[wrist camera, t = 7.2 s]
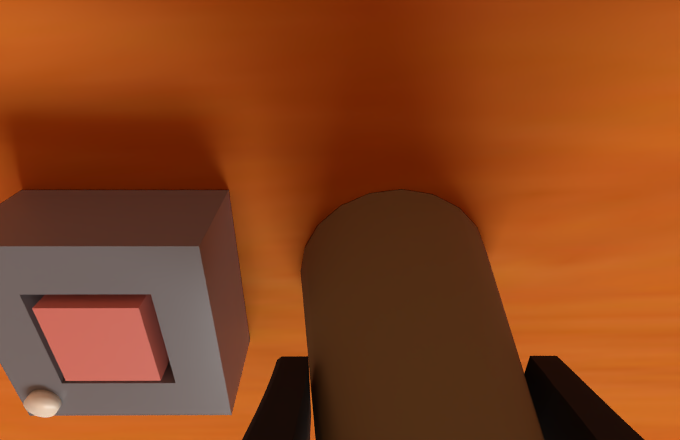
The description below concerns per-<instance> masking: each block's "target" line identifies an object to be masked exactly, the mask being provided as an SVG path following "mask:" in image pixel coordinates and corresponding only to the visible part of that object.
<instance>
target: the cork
mask: <svg viewBox="0 0 680 440" xmlns="http://www.w3.org/2000/svg"><path fill="white" fill-rule="evenodd" d="M301 280H302V291H303V302H304V313H305V325H306V336H307V347H308V358H309V370H310V381H311V392H312V403H313V415H314V426H315V437H316V440H545V439H544V436H543V433H542V430H541V426H540V423H539V420H538V417H537V414H536V410H535V407H534V404H533V401H532V397H531V394H530V391H529V388H528V385H527V381H526V378H525V375H524V372H523V369H522V365H521V362H520V359H519V356H518V352H517V349H516V346H515V343H514V340H513V336H512V333H511V330H510V327H509V323H508V320H507V317H506V314H505V311H504V307H503V304H502V301H501V298H500V294H499V291H498V288H497V285H496V282H495V278H494V275H493V272H492V269H491V265H490V262H489V259H488V256H487V253H486V250H485V247H484V244H483V242H482V239H481V236H480V233H479V231H478V228H477V227H476V226H475V224H474V223H473V222H472V221H471V220H470V219H469V218H468V217H467V216H466V215H465V214H464V213H463V211H462V210H461V209H460V208H459V207H457V206H455V205H453V204H451V203H449V202H447V201H445V200H443V199H441V198H439V197H437V196H435V195H433V194H427V193H421V192H415V191H409V190H402V189H401V190H393V191H385V192H377V193H369V194H367V195H365V196H362V197H360V198H358V199H356V200H353V201H351V202H349V203H346V204H344V205H342V206H340V207H339V208H338V209H336V210H335V211H334V212H333V213H332V214H331V215H329V216H328V217H327V218H326V219H325V220H324V221H322V222H321V223H320V224H319V225H318V226H317V228H316V230H315V231H314V233H313V235H312V236H311V238H310V240H309V242H308V243H307V245H306V247H305V249H304V256H303V262H302V268H301Z"/></svg>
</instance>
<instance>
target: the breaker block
mask: <svg viewBox="0 0 680 440" xmlns="http://www.w3.org/2000/svg"><path fill="white" fill-rule="evenodd" d="M57 294H151V297H152V300H153V304H154V307H155V311H156V314H157V318H158V322H159V325H160V329H161V332H162V336H163V340H164V343H165V347H166V350H167V354H168V357H169V363H168V366H167V368H166V370H165V372H164V375H163V377H162V379H161V381H66V380H65V378H64V376H63V373H62V371H61V369H60V367H59V365H58V363H57V361H56V359H55V356H54V354H53V352H52V350H51V348H50V346H49V344H48V341H47V339H46V337H45V335H44V333H43V331H42V329H41V327H40V324H39V322H38V320H37V318H36V316H35V314H34V312H33V309H32V308H33V307H34V306H35V305H36V304H37V303H38V301H39V300H40V299H41V298H42V297H43V296H44V295H57ZM249 342H250V338H249V331H248V324H247V317H246V310H245V303H244V295H243V288H242V281H241V274H240V267H239V260H238V253H237V246H236V238H235V231H234V224H233V217H232V210H231V203H230V196H229V190H21V191H19V192H18V193H16V194H15V195H13V196H11V197H10V198H8V199H7V200H5V201H4V202H2V203H1V204H0V364H1V365H2V367H3V369H4V371H5V372H6V374H7V376H8V378H9V379H10V381H11V383H12V385H13V387H14V388H15V390H16V392H17V394H18V395H19V397H20V399H21V401H22V402H23V405H24V408H25V409H26V410H27V411H28V413H29V415H30V416H34V415H36V416H39V417H51V416H54V415H232V411H233V407H234V403H235V399H236V395H237V390H238V386H239V382H240V378H241V374H242V370H243V366H244V362H245V358H246V354H247V350H248V346H249Z"/></svg>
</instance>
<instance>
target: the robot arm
mask: <svg viewBox="0 0 680 440" xmlns="http://www.w3.org/2000/svg"><path fill="white" fill-rule="evenodd" d="M524 375H525V378H526V381H527V385H528V388H529V391H530V394H531V397H532V401H533V404H534V407H535V410H536V414H537V417H538V420H539V423H540V426H541V430H542V433H543V436H544V439H545V440H644V439H643V438H642V437H641V436H640V435H639V434H638V433H637V432H635V431H634V430H633V429H632V428H631V427H630V426H629V425H628V424H627V423H626V422H625V421H624V420H623V419H622V418H621V417H620V416H618V415H617V414H616V413H615V412H614V411H613V410H612V409H611V408H610V407H609V406H608V405H607V404H606V403H605V402H604V401H603V400H602V399H601V398H600V397H599V396H598V395H597V394H596V393H595V392H594V391H593V390H592V389H590V388H589V387H588V386H587V385H586V384H585V383H584V382H583V381H582V380H581V379H580V378H579V377H578V376H577V375H576V374H575V373H574V372H573V371H572V370H571V369H570V368H569V367H568V366H567V365H566V364H565V363H564V362H563V361H562V360H560V359H559V358H558V357H557V356H530V358H529V361H528V364H527V367H526V370H525V374H524ZM310 426H311V404H310V383H309V362H308V357H281V358H279V359H278V360H277V362H276V365H275V368H274V371H273V374H272V376H271V379H270V382H269V384H268V386H267V389H266V391H265V394H264V396H263V398H262V400H261V402H260V405H259V407H258V409H257V411H256V413H255V415H254V417H253V419H252V421H251V423H250V425H249V427H248V429H247V431H246V433H245V435H244V437H243V439H242V440H310Z"/></svg>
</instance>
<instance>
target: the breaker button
mask: <svg viewBox="0 0 680 440" xmlns="http://www.w3.org/2000/svg"><path fill="white" fill-rule="evenodd" d="M32 309H33V312H34V314H35V316H36V318H37V320H38V322H39V324H40V327H41V329H42V331H43V333H44V335H45V337H46V339H47V341H48V344H49V346H50V348H51V350H52V352H53V354H54V356H55V359H56V361H57V363H58V365H59V367H60V369H61V371H62V373H63V376H64V378H65V380H66V381H161V379H162V377H163V375H164V372H165V370H166V368H167V366H168V363H169V357H168V354H167V350H166V347H165V343H164V340H163V336H162V332H161V329H160V325H159V322H158V318H157V314H156V311H155V307H154V304H153V300H152V297H151V294H57V295H44V296H43V297H42V298H41V299H40V300H39V301H38V303H37V304H36V305H35V306H34V307H33V308H32Z"/></svg>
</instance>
